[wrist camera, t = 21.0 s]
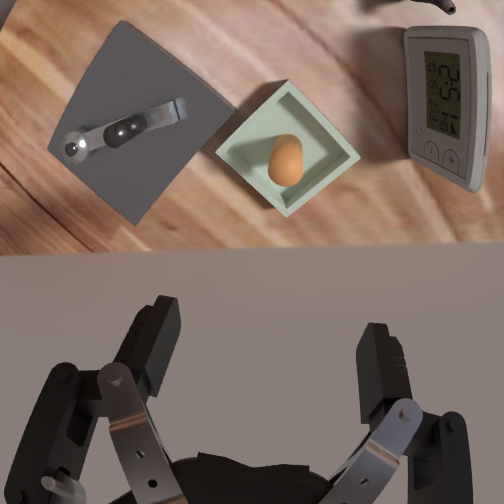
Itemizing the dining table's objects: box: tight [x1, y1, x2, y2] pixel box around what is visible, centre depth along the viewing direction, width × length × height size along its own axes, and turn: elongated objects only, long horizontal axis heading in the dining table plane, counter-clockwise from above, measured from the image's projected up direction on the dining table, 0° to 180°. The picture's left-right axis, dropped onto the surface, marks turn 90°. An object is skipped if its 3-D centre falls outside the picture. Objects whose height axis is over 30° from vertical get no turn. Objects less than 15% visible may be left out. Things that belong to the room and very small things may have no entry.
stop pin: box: [268, 134, 303, 187], centre depth 30 cm, size 3×3×8 cm
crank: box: [60, 101, 179, 165], centre depth 30 cm, size 16×4×7 cm, turn 102°
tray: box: [215, 79, 361, 218], centre depth 32 cm, size 11×11×3 cm
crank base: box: [48, 20, 237, 226], centre depth 34 cm, size 18×21×2 cm
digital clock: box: [404, 26, 492, 193], centre depth 23 cm, size 16×9×11 cm, turn 177°
